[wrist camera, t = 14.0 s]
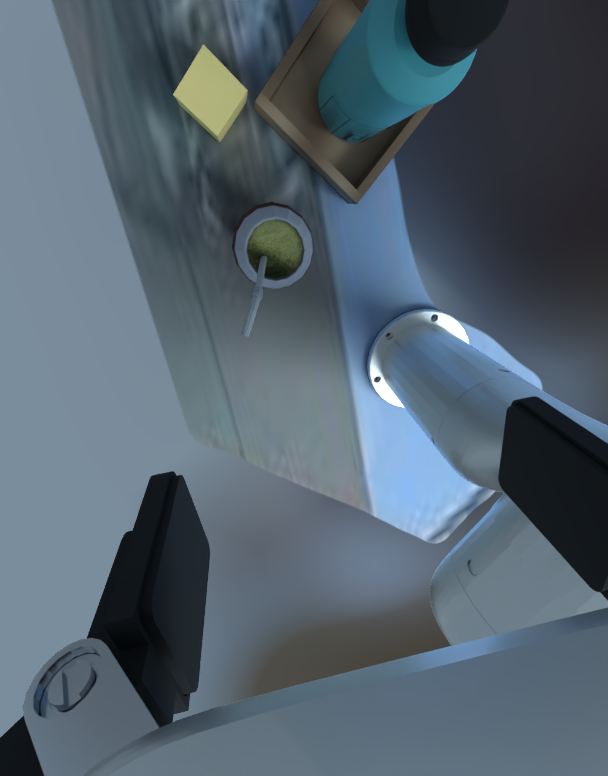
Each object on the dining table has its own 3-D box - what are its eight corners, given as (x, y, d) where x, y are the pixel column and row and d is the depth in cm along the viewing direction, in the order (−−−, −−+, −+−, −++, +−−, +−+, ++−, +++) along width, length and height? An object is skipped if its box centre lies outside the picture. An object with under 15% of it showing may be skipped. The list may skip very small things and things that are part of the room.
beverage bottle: (323, 157, 35) (411, 111, 17) (302, 68, 32) (381, -101, 14) (390, 133, 35) (547, 63, 17) (375, 42, 32) (548, -160, 14)
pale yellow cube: (247, 101, 33) (248, 89, 29) (219, 142, 34) (217, 136, 30) (207, 60, 31) (203, 42, 28) (180, 105, 32) (172, 94, 29)
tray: (433, 94, 34) (449, 85, 32) (348, 203, 37) (357, 203, 35) (340, -26, 30) (350, -49, 27) (253, 109, 33) (254, 101, 30)
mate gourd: (296, 195, 36) (327, 193, 23) (310, 277, 40) (345, 315, 27) (220, 211, 36) (208, 218, 23) (242, 292, 40) (242, 339, 26)
